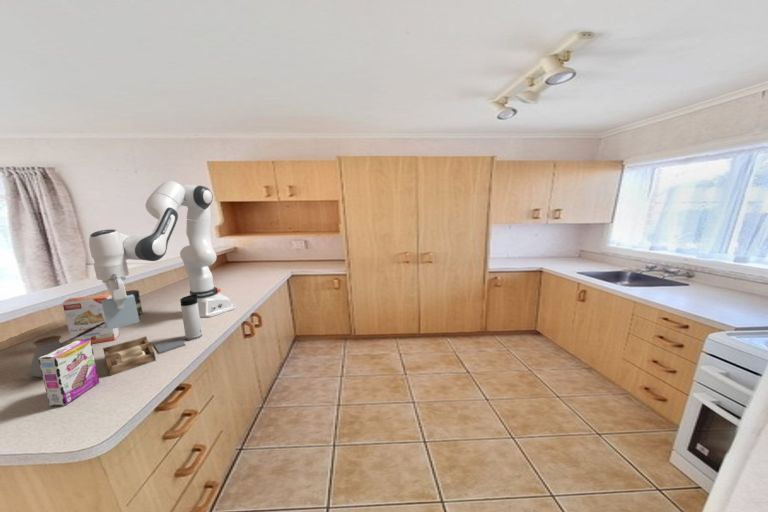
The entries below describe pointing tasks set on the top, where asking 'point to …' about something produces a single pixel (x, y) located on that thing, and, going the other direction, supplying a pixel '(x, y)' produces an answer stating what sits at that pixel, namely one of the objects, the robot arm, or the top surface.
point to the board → (120, 312)
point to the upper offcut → (130, 353)
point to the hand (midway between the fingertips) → (120, 306)
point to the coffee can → (137, 300)
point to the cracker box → (88, 319)
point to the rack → (115, 368)
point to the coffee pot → (50, 349)
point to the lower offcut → (130, 359)
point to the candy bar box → (69, 372)
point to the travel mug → (191, 317)
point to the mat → (169, 345)
